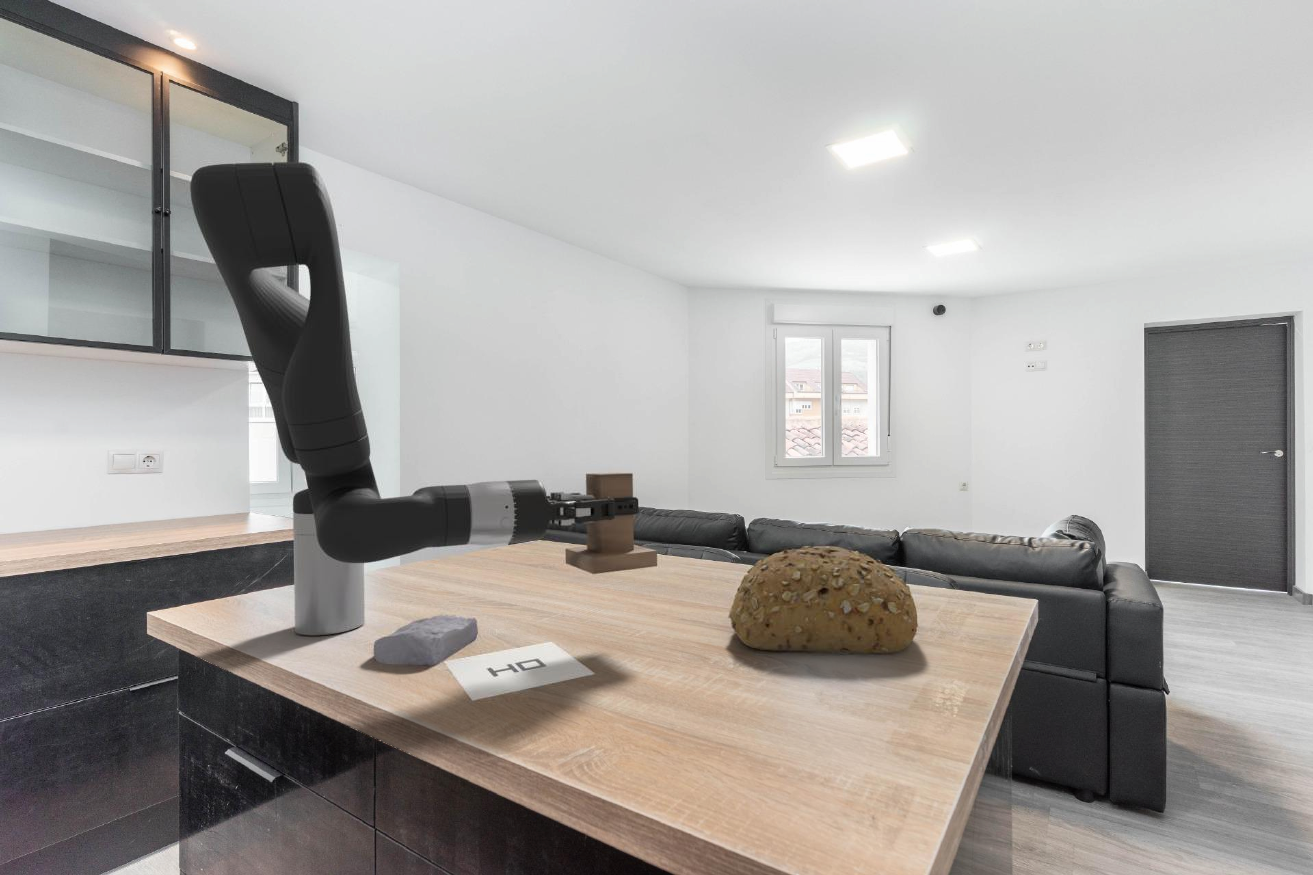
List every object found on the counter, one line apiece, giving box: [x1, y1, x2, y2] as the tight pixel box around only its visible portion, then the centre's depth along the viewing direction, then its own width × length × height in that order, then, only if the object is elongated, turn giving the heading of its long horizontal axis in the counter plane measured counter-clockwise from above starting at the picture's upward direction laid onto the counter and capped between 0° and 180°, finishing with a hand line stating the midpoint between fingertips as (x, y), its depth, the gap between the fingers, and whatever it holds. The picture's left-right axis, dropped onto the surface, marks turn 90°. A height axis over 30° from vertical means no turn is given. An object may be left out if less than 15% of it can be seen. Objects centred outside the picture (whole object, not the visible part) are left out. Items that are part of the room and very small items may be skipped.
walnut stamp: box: [564, 472, 658, 575], centre depth 85 cm, size 9×9×12 cm
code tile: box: [443, 641, 596, 702], centre depth 76 cm, size 14×14×1 cm
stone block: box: [373, 614, 479, 666], centre depth 84 cm, size 12×5×10 cm
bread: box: [727, 545, 919, 655], centre depth 88 cm, size 24×21×12 cm
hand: (627, 504), depth 86 cm, fingers closed on walnut stamp, 4 cm apart
